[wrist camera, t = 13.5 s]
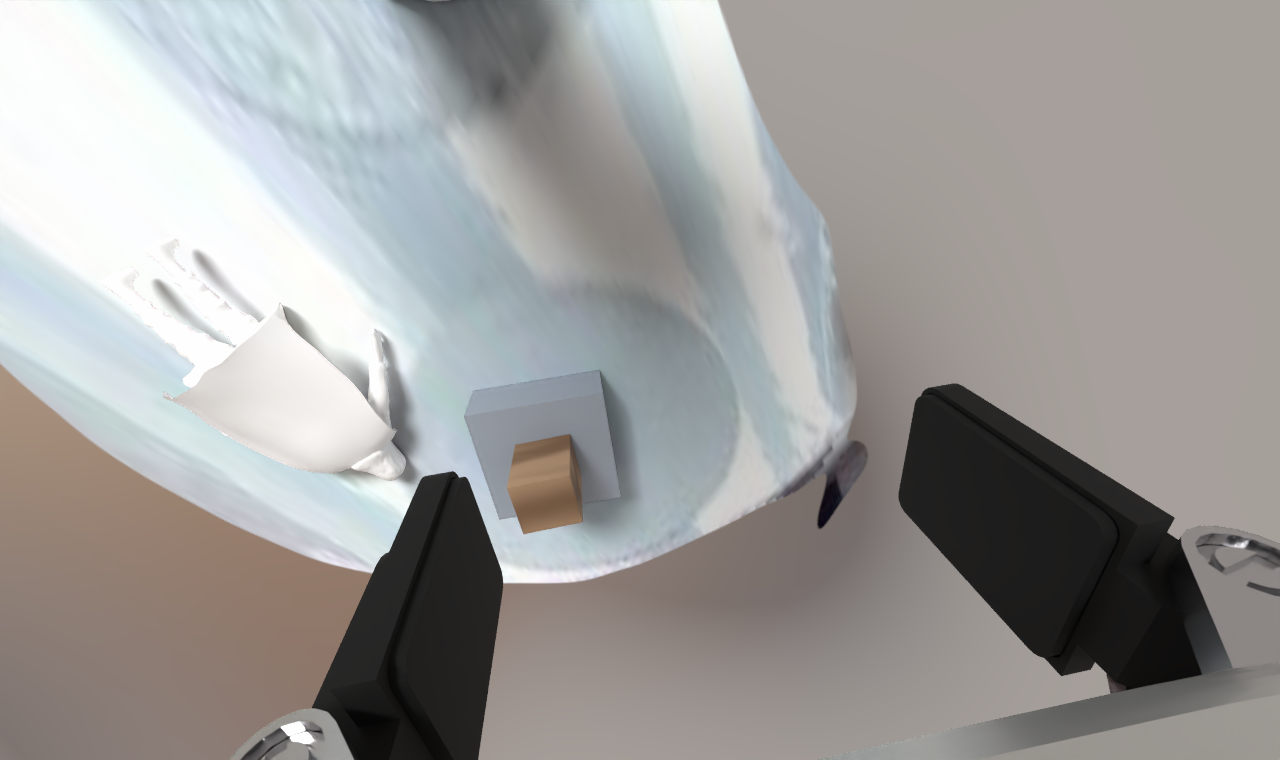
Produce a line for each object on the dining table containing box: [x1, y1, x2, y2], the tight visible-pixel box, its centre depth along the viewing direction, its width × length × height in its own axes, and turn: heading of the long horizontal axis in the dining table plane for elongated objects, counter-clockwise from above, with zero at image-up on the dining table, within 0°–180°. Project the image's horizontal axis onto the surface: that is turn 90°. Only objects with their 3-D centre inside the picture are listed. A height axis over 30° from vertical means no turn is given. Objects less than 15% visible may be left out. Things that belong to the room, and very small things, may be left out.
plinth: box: [464, 370, 621, 520], centre depth 46 cm, size 12×12×5 cm
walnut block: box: [507, 434, 583, 534], centre depth 41 cm, size 5×5×6 cm
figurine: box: [100, 237, 406, 481], centre depth 38 cm, size 17×9×25 cm
